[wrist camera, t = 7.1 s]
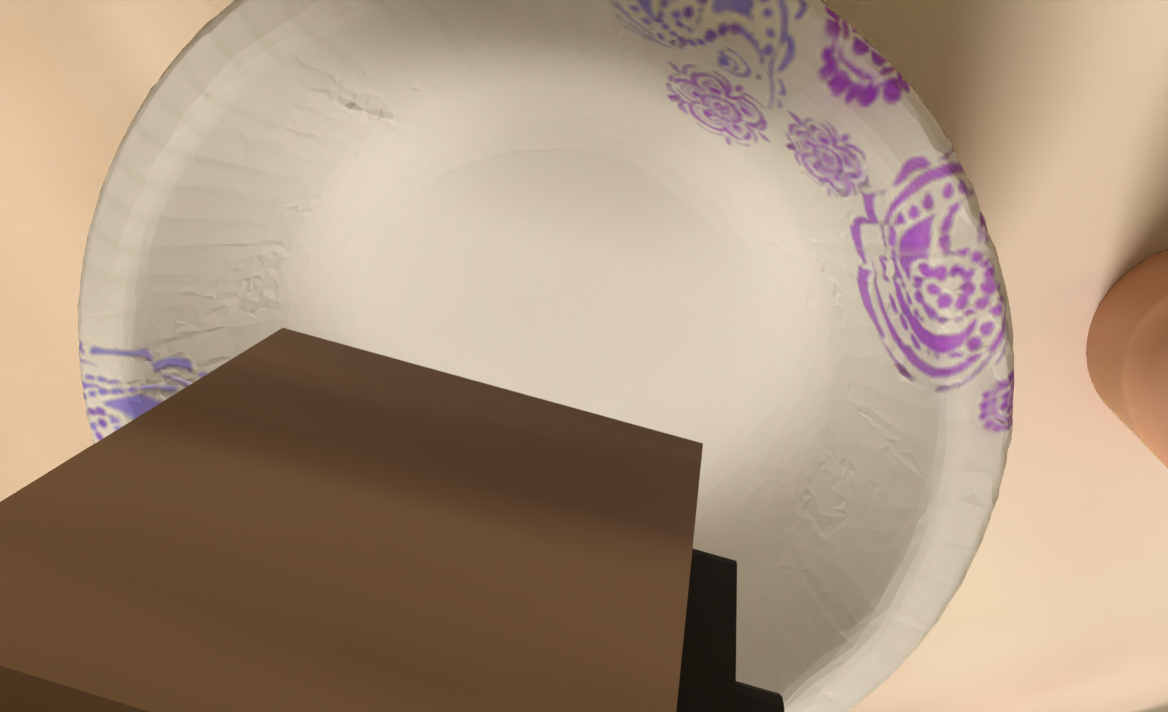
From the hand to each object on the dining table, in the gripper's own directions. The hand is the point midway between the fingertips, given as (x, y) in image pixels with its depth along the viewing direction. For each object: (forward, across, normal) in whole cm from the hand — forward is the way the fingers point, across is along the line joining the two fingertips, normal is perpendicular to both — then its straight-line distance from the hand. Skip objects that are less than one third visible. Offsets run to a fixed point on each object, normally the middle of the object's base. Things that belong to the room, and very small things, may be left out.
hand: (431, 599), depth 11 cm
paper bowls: (+13, 0, 0) cm, 13 cm away
